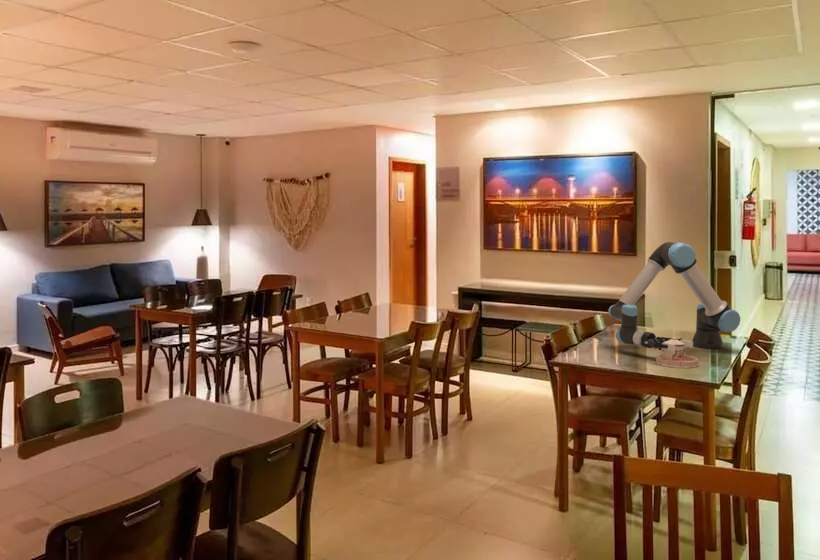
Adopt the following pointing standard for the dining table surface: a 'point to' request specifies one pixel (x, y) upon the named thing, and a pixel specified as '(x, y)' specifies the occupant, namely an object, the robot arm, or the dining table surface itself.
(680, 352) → the teacup with lid
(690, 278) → the robot arm
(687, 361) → the round tray
